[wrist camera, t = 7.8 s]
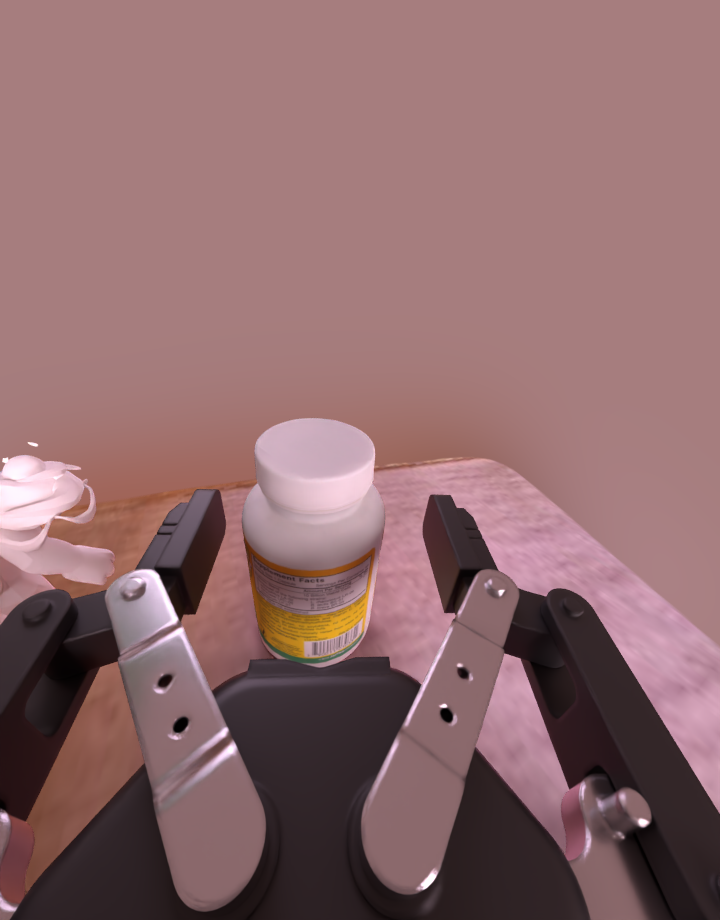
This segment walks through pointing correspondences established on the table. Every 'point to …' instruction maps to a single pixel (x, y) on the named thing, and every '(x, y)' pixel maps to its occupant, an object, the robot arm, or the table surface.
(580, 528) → the table surface
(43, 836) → the table surface
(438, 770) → the robot arm
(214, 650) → the table surface
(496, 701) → the table surface
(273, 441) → the supplement bottle
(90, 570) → the hat wearing toy figure
